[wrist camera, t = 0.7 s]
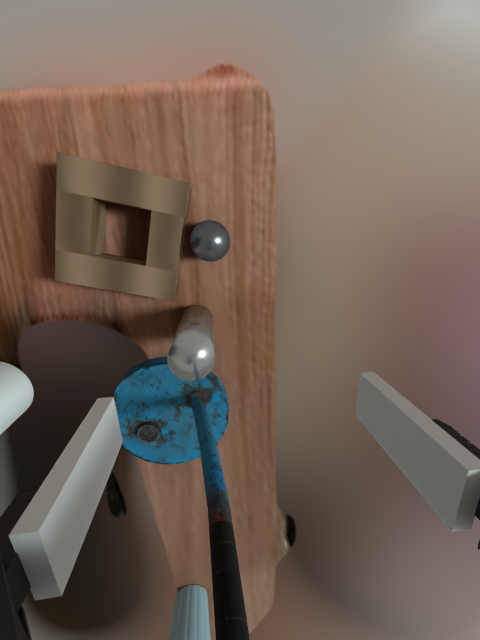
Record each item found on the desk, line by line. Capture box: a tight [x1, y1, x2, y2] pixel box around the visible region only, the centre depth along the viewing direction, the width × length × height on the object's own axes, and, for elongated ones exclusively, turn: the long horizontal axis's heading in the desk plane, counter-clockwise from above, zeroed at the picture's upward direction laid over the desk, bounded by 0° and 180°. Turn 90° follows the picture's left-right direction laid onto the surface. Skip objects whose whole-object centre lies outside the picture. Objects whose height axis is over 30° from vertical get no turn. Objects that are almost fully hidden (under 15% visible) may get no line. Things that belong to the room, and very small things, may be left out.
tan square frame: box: [55, 152, 191, 301], centre depth 30 cm, size 12×12×4 cm
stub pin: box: [190, 220, 230, 261], centre depth 30 cm, size 4×4×5 cm
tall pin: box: [167, 305, 214, 381], centre depth 30 cm, size 4×4×12 cm
